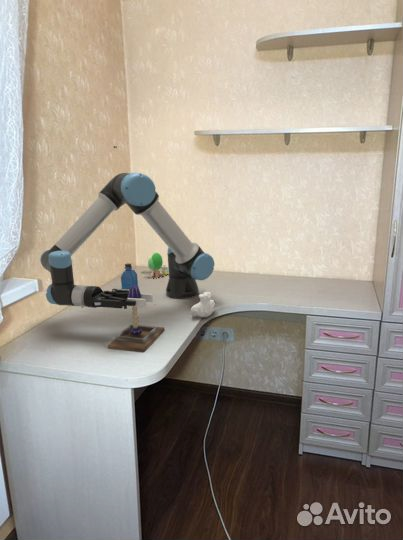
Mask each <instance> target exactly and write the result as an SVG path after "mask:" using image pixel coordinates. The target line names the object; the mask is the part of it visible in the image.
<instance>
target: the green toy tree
mask: <svg viewBox="0 0 403 540" xmlns="http://www.w3.org/2000/svg"><path fill="white" fill-rule="evenodd" d="M163 262H164V261H163V256H162V255H161V254H160V253H159V252H154V253H153V254H152V256H151V257H150V258H149V259H148V260H147V267H148V269H149V270H150V272H151V273H153V274H151V277H152V276H153V278H155V279H156V278H157V279H156V280H158V277H161V275H162V276H164V277H165V278H167V277H169V275H167V274H169V268H168V267H167V266H166V265H165V264H163ZM160 272H162V274H161V273H160ZM165 274H166V275H167V276H165Z"/></svg>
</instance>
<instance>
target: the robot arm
mask: <svg viewBox="0 0 403 540" xmlns="http://www.w3.org/2000/svg"><path fill="white" fill-rule="evenodd" d="M159 198H160V195H159V194H158V192H157V191H156V185H155V182H154V181H153V179H151V177H149V176H148V175H147V174H144V173H142V172H121V173H118V174H117V175H115V176H113V178H111V179H110V180H109V181H108V182H107V184H106V185H104V186H103V188H102V189H101V190H100V191H99V192H98V197H97V198H96V200H94V202H93V203H92V204H91V205H90V206H89V207H88V208H87V209H86V210H85V211H84V212H83V213H82V214H81V216H80V217H79V218H77V220H76V221H75V222H74V223H73V224H72V226H71V227H70V228H69V229H68V230H66V232H64V233H63V235H62V236H61V237H60V238H59V239H58V241H56V243H54V245H53V246H52V247H51V248H50V249H48V250H45V251H43V252H42V254H41V255H40V257H39V259H40V263H41V265H42V267H43V269H45V270H46V271H48V272H49V274H50V278H51V279H50V280H51V284H49V285H48V286H47V289H46V293H45V298H46V300H47V302H48V303H49V304H51V305H56V306H57V305H58V306H71V307H80V308H82V309H84V308H86V307H87V308H94V309H96V308H108V309H109V308H111V309H124V310H127V309H128V307H131V308H132V307H137V308H144V309H145V308H147V303H153V301H154V299H153V293H141V292H140V294H141V298H140V299H137V298H127V297H128V292H129V290H122V289H117V288H112V289H111V291H110V290H102V288H101V287H100V286H95V285H84V284H83V285H82V284H75V280H74V279H75V278H74V269H73V259H72V256H74V254H75V253H76V252H77V250H78V249H80V248H81V247H82V245H83V244H85V242H86V241H87V240H88V239H89V237H91V236H92V235H93V234H94V232H95V231H96V230H97V229H98V228H99V227H100V226H101V225H102V224H103V222H104V221H105V220H106V219H107V218H108V217H109V216H110V215H111V213H113V212H115V211H118V210H119V209H120V208H121V207H122V206H124V205H127V206H128V207H129V209H130V210H131V211H132V212H133V213H134V214H135V215H138V216H141V217H142V218H143V219H144V220H145V222H146V223H147V224H148V225H149V226H150V227H151V228H152V230H153V231H154V232H155V233H156V235H157V236H158V237H159V238H160V239H161V240H162V241H163V242H164V244H165V245H166V246H167V254H166V255H167V264H168V265H167V266H168V267H167V268H168V274H169V275H168V281H167V285H166V288H165V295H166V296H167V297H169V298H170V299H189V298H194V297H197V296H199V291H200V289H199V285H198V283H197V281H204V280H205V281H206V279H208V278H210V276H211V275H212V274H213V272H214V270H215V269H214V268H215V260H214V258H213V256H212V255H211V254H209V253H206V252H204V250H203V249H202V248H201V246H200V245H199V244H198V243H196V242H192V241H191V240H190V239H189V237H188V236H187V235H186V234H185V232H184V231H183V230H182V229H181V227H180V225H178V224H177V222H176V221H175V220H174V219H173V217H172V216H171V214H169V213H168V211H167V209H166V208H165V207H164V206H163V205H162V204H161V202H160V201H159V200H160V199H159Z"/></svg>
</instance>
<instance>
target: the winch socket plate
mask: <svg viewBox="0 0 403 540" xmlns="http://www.w3.org/2000/svg"><path fill="white" fill-rule="evenodd" d="M138 327H139V328H141V330H142V333H141V334H138V335H132V334H130V330H131V329H132V328H133V324H129V325H128V326H126V328H125V329H123V330H122V331H121V332H120V333H119V334H117V335H116V337H115V338H114V339H113V340H112V341H111V342H110V343H108V344H107V349H113V350H119V351H129V352H139V353H140V352H141V353H145V352H146V350H148V349H149V347H151V345H152V344H154V342H155V341H156V340H157V339H158V338H159V337H160V336H161V335H162V334H163V333H164V332H165V327H163V326H153V325H152V326H151V325H141V324H138Z"/></svg>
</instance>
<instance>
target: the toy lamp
mask: <svg viewBox="0 0 403 540" xmlns="http://www.w3.org/2000/svg"><path fill="white" fill-rule="evenodd" d="M140 293H141V291H140V287H139V285H138V286H130V288H129V292H128V297H127V298H137V299H140V298H141V294H140ZM131 308H132V309H131V310H132V325H133V328H132V329H131V330H130V334H132V335H138V334H141V333H142V330H141V328H139V327H138V325H139V316H138V314H139V313H138V307H131Z"/></svg>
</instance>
